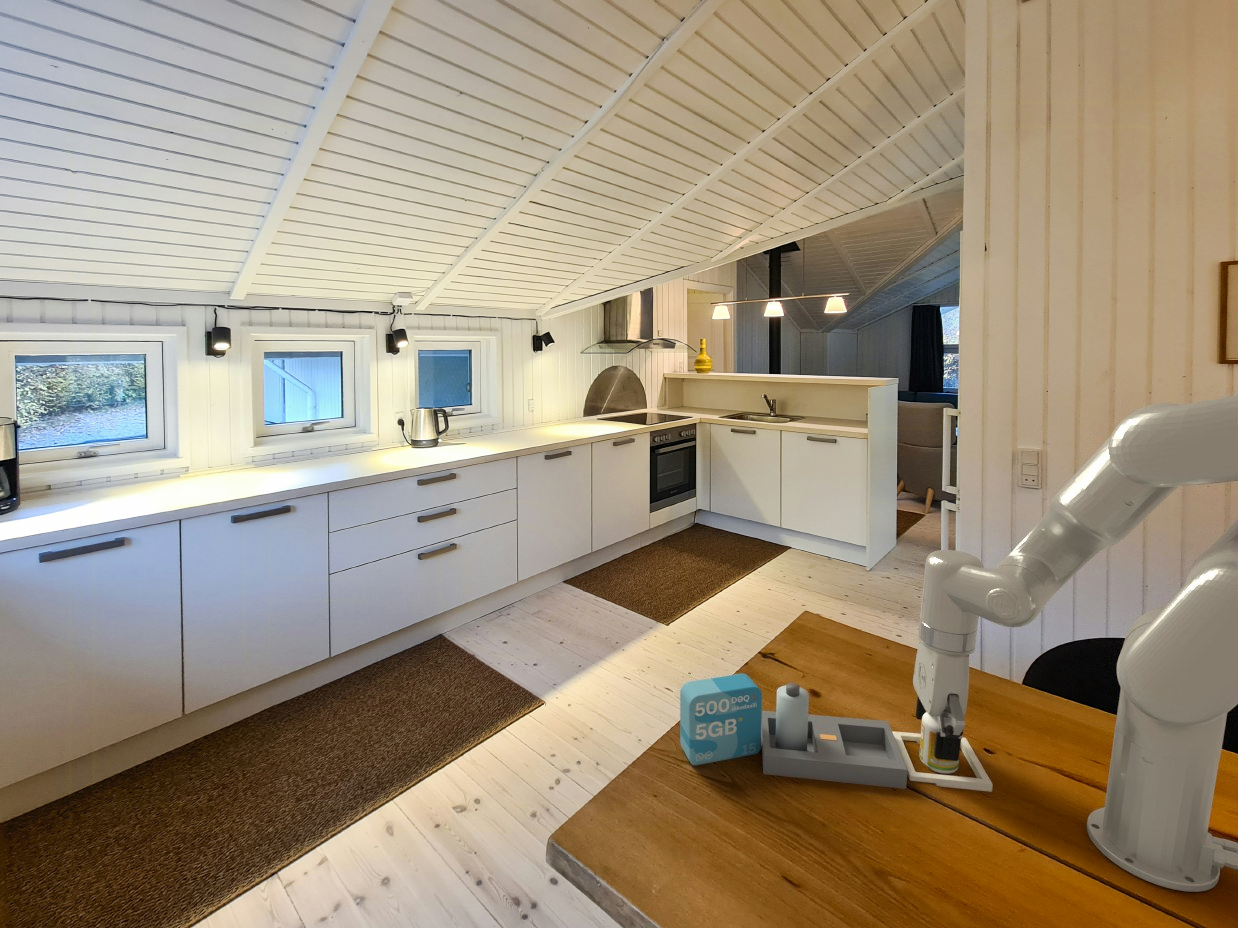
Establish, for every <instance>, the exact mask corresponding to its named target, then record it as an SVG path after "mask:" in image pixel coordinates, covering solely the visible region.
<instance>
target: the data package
mask: <svg viewBox="0 0 1238 928" xmlns="http://www.w3.org/2000/svg"><path fill="white" fill-rule="evenodd" d="M679 704H680V705H679V709H680V710H679V713H680V714H679V715H680V716H679V718H680V721H679V726H680V727H679V728H680V729H679V730H680V731H679V732H680V733H679V736H680V738H679V741H680V746H681V748H682V750H683V752H684V754H685V755H686V757H687V759H688V761H689V762H690V764H691V765H692V766H700V765H704V764H705V765H706V764H710V763H715V762H719V761H720V762H721V761H725V760H731V759H736V758H741V757H745V756H747V757H748V756H752V755H757V754H759V752H760V751H761V750H762V740H761V724H762V711H763V692H762V690H761V688H760V687H759V686H758V685H757V684H756V683H755V682H754V681H753V679H752V678H751V677H750V676H749V675H747V673H736V674H730V675H723V676H718V677H711V678H705V679H703V678H702V679H698V680H689V681H687V682H686V683H683V685H682V687H681V688H680V690H679Z"/></svg>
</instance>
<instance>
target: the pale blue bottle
mask: <svg viewBox="0 0 1238 928" xmlns="http://www.w3.org/2000/svg"><path fill="white" fill-rule="evenodd" d="M809 702H810V695H809V692H808V690H806V689H804V688H803V687H801V686H800V685H799V684H798V683H795V682H788V683H786V685H782V686H780V687H778V688H777V689H776V707H775V710H776V711H775V712H776V743H775V748H776V749H786V750H797V751H807V736H808V714H809V707H810V706H809V705H810V703H809Z"/></svg>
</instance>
